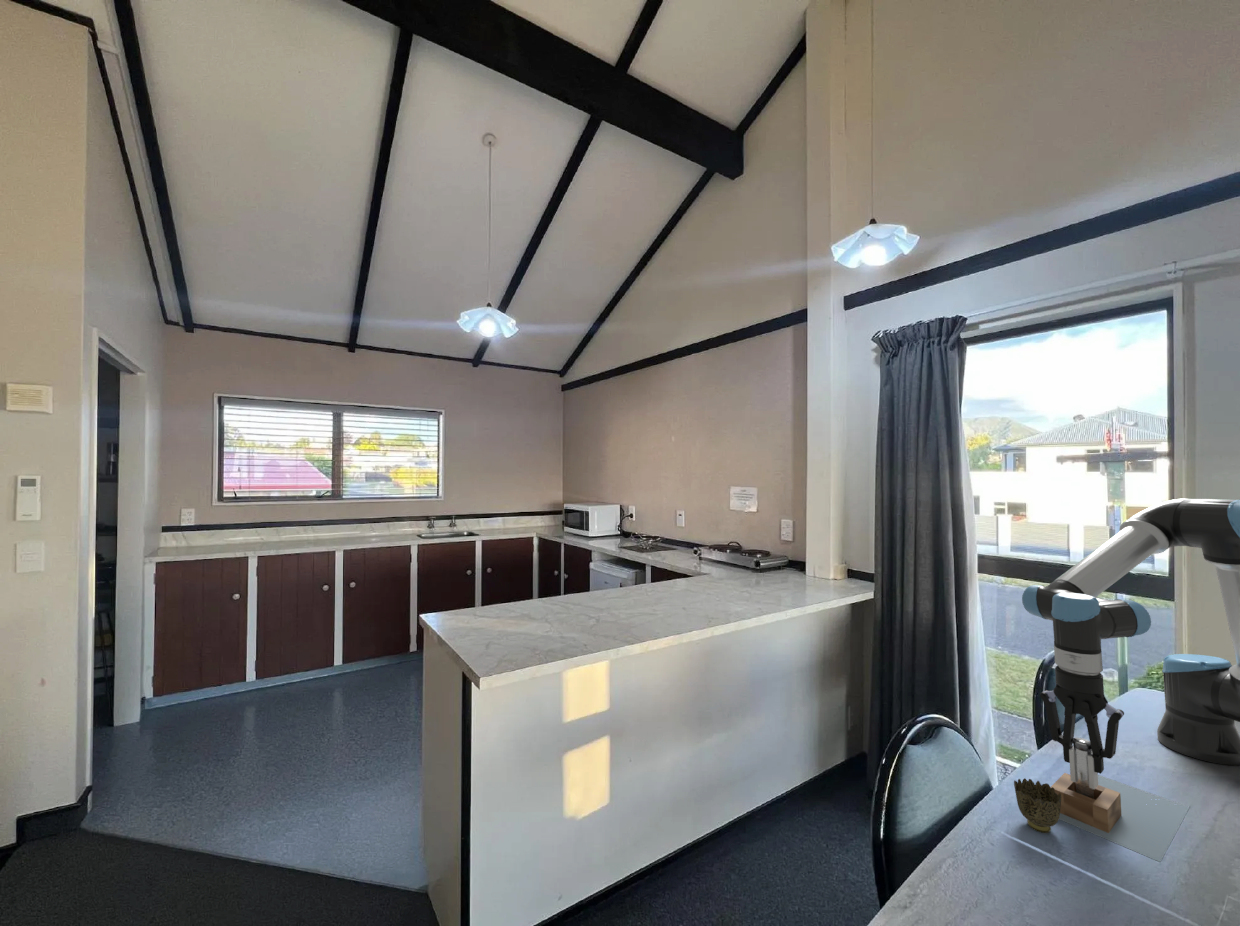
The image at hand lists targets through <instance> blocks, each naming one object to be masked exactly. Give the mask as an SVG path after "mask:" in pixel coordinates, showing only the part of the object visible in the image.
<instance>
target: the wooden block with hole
mask: <svg viewBox="0 0 1240 926" xmlns="http://www.w3.org/2000/svg"><path fill="white" fill-rule="evenodd" d="M1050 787H1051V788H1052V787H1053V788H1054V790H1055V793H1056V794H1057V795H1058V794H1059V793H1060V794H1061V796H1062V798H1061V808H1060V813H1061V814H1064V815H1066V816H1069V817H1071V818H1073V819H1076V820H1078V821H1081V822H1083V823H1085V824H1088V825H1090V826H1093V827H1095V828H1097V829H1100V830H1102V831H1105V832H1107V833H1109V832H1110V831H1111V829H1112V828H1113V826H1114V825H1115V824H1116V822H1117V821H1118V819H1119V818H1120V817H1121V796H1120V793H1119V792H1116V791H1114V790H1111V789H1108V788H1105V787H1103V786H1100V785H1098V786H1097V787H1096V788H1095V789H1094V799H1092V798H1089V797H1087V796H1084V795H1082V794H1079V793H1076V782H1073V781H1071V777H1070V774H1068V773H1066V772H1064V773H1063V774H1062V775H1060V777H1059V778H1058V779H1057V780H1056V781H1055V782H1054V783H1053V784H1052V785H1051V786H1050Z"/></svg>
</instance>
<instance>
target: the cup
mask: <svg viewBox="0 0 1240 926" xmlns="http://www.w3.org/2000/svg"><path fill="white" fill-rule="evenodd" d="M1013 785H1014V791H1015V796H1016V797H1015V798H1016V802H1017V806H1018V809H1019V811H1020V813H1021V814H1022V816H1023V818H1024V819H1026V821H1027V822H1026V823H1027V825H1028V826H1029V827H1030V828H1031V829H1032V830H1034V831H1035V832H1039V833H1041V834H1048V833H1050V832H1051V830H1052V827H1054V826H1055V825H1057V824H1058V822H1059V821H1060V820H1059V816H1060V808H1061V798H1062V796H1061V794H1060V793H1059V794H1058V795H1057V794H1056V793H1055V790H1054V788H1053V787H1052V788H1051V786H1050V784H1049V783H1046V782H1045V783H1042V784H1041V782H1040V780H1037V781H1036V782H1034V781H1033V780H1032V779H1031V778H1029V779H1026V777H1025V778H1023V779H1022V780H1021V779H1020V778H1018V780H1016V779H1015V780H1014V781H1013Z"/></svg>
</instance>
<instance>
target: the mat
mask: <svg viewBox="0 0 1240 926" xmlns="http://www.w3.org/2000/svg"><path fill="white" fill-rule="evenodd" d="M1098 785H1100V786H1103V787H1105V788H1108V789H1111V790H1114V791H1116V792H1119V793H1120V796H1121V817H1120V818H1119V819H1118V821H1117V822H1116V824H1115V825H1114V826H1113V828H1112V829H1111V831H1110V832H1109V833H1107V832H1105V831H1102V830H1100V829H1097V828H1095V827H1093V826H1090V825H1088V824H1085V823H1083V822H1081V821H1078V820H1076V819H1073V818H1071V817H1069V816H1066V815H1064V814H1061V813H1060V816H1059V820H1058V821H1062V822H1065V823H1067V824H1069V825H1071V826H1074V827H1076V828H1078V829H1081V830H1083V831H1086V832H1088V833H1090V834H1092V835H1095V836H1097V837H1100V838H1102V839H1105V840H1107V841H1109V842H1112V843H1114V844H1116V845H1118V846H1121V847H1123V848H1126V849H1127V850H1131V851H1133V852H1136V853H1137V854H1140V855H1142V856H1144V857H1147V858H1150V859H1151V860H1153V861H1156V862H1159V863H1161V862H1162V860H1163V859H1164V857H1165V855H1166V852H1167V850H1168V849H1169V847H1170V845H1171V844H1172V841H1173V839H1174V837H1175V835H1176V834H1177V832H1178V831H1179V828H1180V826H1181V825H1182V822H1184V821H1183V820H1184V819H1185V817H1186V815H1187V814H1188V812H1189V810H1190V806H1189V805H1186V804H1183V803H1180V802H1177V801H1174V800H1171V799H1169V798H1166V797H1162V796H1160V795H1156V794H1155V793H1151V792H1148V791H1145V790H1143V789H1140V788H1137V787H1134V786H1131V785H1129V784H1126V783H1123V782H1120V781H1117V780H1115V779H1111V778H1108V777H1106V776H1102V775H1101V774H1098ZM1151 799H1152V800H1151ZM1155 799H1157V800H1155ZM1158 799H1160V800H1158ZM1146 804H1147V805H1146ZM1155 804H1157V805H1155ZM1174 804H1177V805H1174Z"/></svg>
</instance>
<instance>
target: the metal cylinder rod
mask: <svg viewBox="0 0 1240 926" xmlns="http://www.w3.org/2000/svg"><path fill="white" fill-rule="evenodd" d="M1072 746H1074V751H1075V770H1076V793H1079V794H1082V795H1084V796H1087V797H1089V798H1092V799H1094V789H1092V788H1090V787H1089V769H1088V755H1091V754H1092V749H1091V744H1090V740H1089V739H1086V738H1084V737H1083V738H1082V737H1074V739H1073V744H1072Z"/></svg>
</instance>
